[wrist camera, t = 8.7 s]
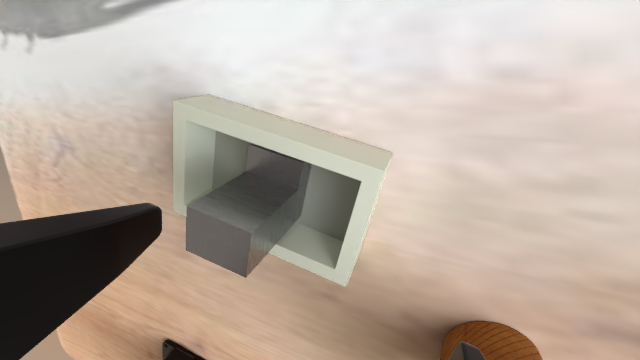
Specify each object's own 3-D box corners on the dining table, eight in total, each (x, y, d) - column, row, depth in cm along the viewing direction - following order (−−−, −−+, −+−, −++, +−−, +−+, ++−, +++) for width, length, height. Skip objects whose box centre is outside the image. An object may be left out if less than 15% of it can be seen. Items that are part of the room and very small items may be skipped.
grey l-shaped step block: (301, 215, 23) (246, 277, 17) (255, 198, 24) (185, 250, 18) (313, 155, 21) (256, 198, 15) (262, 138, 22) (187, 172, 16)
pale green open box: (358, 256, 23) (345, 287, 20) (204, 193, 26) (172, 211, 23) (393, 153, 20) (384, 170, 16) (209, 94, 23) (173, 100, 20)
